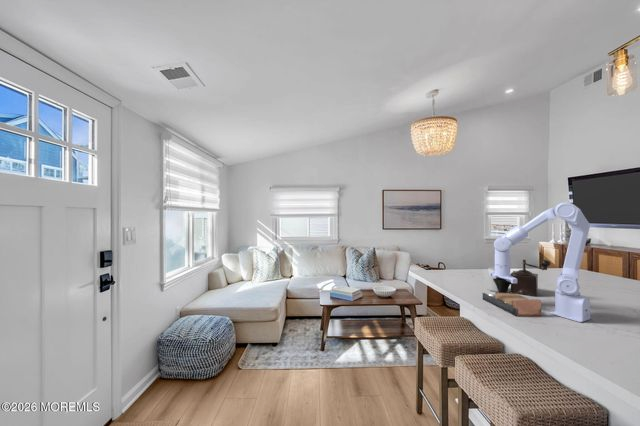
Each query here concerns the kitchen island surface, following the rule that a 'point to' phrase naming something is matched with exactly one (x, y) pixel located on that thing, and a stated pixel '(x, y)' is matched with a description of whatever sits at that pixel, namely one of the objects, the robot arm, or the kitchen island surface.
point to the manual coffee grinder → (527, 279)
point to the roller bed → (516, 305)
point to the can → (491, 281)
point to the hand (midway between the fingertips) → (502, 295)
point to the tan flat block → (509, 297)
